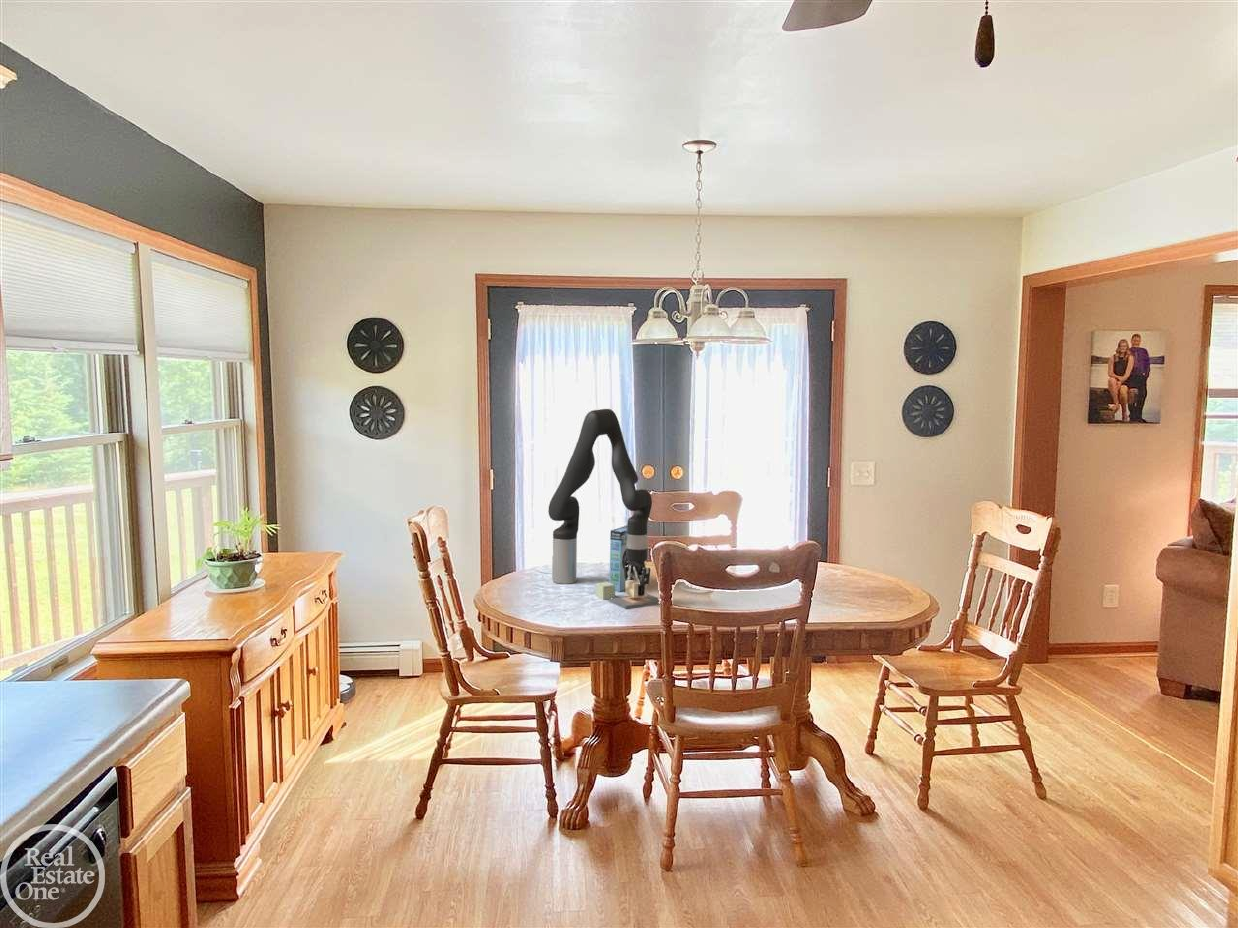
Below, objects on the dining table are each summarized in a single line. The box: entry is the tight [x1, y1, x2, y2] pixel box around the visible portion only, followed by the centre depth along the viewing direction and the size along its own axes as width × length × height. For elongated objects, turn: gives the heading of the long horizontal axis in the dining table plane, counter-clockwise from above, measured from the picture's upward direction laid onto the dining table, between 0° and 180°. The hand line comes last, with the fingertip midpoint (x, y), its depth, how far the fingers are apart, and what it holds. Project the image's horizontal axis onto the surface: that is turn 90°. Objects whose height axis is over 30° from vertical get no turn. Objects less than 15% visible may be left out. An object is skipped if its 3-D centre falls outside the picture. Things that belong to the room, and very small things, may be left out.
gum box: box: [608, 524, 642, 593], centre depth 309 cm, size 20×5×23 cm, turn 153°
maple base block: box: [624, 579, 648, 598], centre depth 286 cm, size 6×6×5 cm
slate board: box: [608, 593, 659, 610], centre depth 286 cm, size 11×16×1 cm
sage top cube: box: [595, 581, 616, 601], centre depth 292 cm, size 5×5×5 cm
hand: (636, 593), depth 286 cm, fingers closed on maple base block, 5 cm apart
